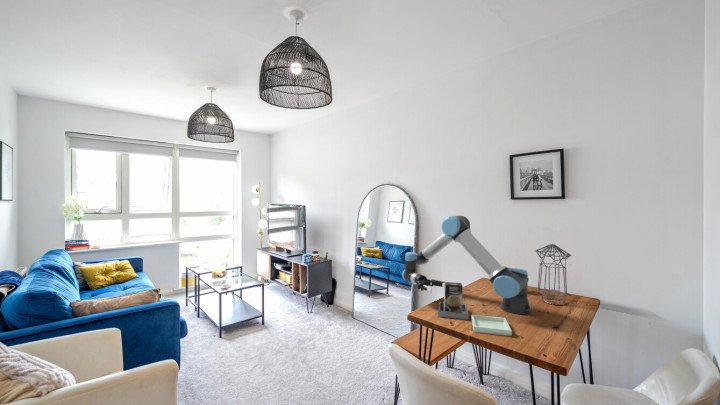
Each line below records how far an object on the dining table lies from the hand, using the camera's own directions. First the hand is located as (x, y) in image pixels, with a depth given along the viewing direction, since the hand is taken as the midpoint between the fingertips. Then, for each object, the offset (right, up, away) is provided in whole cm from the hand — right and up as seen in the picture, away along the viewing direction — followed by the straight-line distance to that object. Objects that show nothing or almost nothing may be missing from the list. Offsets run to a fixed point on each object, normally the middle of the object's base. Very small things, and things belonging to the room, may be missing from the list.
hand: (440, 289), depth 176 cm
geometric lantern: (+72, -11, +15) cm, 75 cm away
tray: (+16, -11, -27) cm, 34 cm away
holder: (+4, -10, -9) cm, 14 cm away
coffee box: (+4, -11, -9) cm, 15 cm away
